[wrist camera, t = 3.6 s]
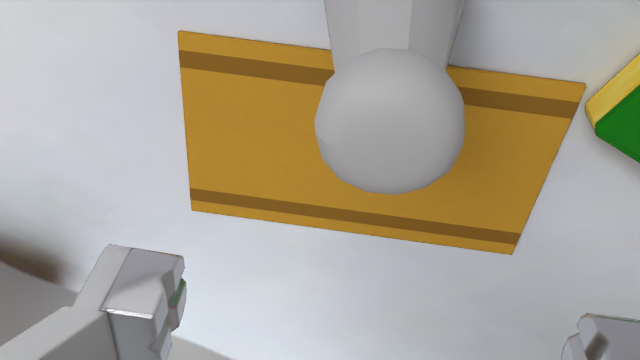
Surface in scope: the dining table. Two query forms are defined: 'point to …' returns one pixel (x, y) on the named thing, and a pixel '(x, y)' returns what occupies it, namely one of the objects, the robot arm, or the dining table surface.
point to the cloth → (322, 183)
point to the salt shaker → (391, 94)
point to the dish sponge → (619, 110)
